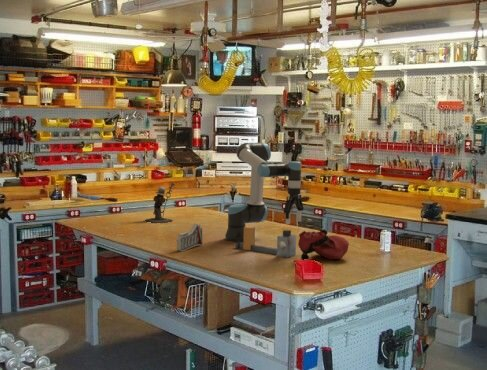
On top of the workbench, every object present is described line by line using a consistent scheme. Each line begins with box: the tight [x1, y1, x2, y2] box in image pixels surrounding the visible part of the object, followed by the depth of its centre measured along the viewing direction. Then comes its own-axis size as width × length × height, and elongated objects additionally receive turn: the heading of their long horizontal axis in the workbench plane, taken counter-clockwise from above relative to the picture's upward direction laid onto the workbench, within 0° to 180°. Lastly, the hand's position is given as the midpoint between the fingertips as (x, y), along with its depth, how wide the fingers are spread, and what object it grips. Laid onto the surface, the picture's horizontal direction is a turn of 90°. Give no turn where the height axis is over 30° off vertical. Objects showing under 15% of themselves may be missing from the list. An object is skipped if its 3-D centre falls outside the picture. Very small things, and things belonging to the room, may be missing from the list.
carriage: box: [242, 225, 256, 251], centre depth 376 cm, size 5×6×14 cm
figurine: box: [144, 182, 176, 224], centre depth 475 cm, size 23×23×30 cm
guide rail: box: [234, 241, 277, 256], centre depth 373 cm, size 31×5×4 cm, turn 56°
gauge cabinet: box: [276, 233, 297, 259], centre depth 362 cm, size 7×10×12 cm
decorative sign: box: [176, 223, 204, 252], centre depth 377 cm, size 23×3×15 cm, turn 149°
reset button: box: [282, 229, 292, 237], centre depth 361 cm, size 3×3×6 cm
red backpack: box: [297, 227, 350, 261], centre depth 355 cm, size 24×20×30 cm
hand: (293, 222), depth 367 cm, fingers open, 13 cm apart
